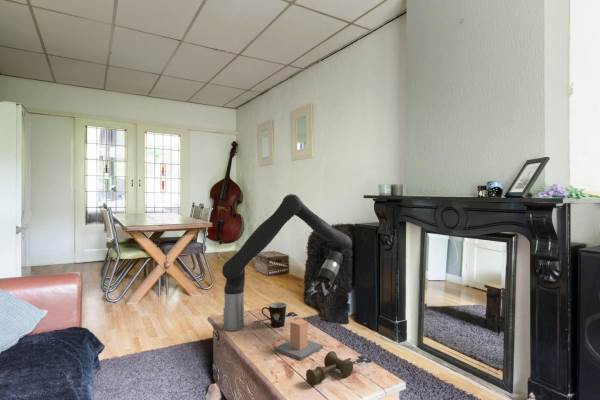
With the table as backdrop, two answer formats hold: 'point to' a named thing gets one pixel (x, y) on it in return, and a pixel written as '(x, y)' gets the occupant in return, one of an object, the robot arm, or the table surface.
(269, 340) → the table surface
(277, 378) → the table surface
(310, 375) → the kendama
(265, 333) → the table surface
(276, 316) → the coffee mug
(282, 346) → the slate tile
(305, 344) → the terracotta block
